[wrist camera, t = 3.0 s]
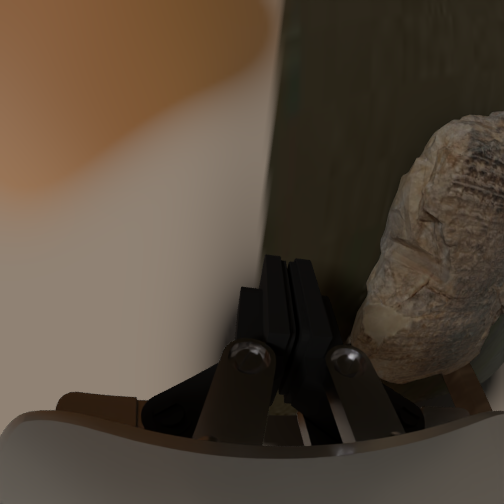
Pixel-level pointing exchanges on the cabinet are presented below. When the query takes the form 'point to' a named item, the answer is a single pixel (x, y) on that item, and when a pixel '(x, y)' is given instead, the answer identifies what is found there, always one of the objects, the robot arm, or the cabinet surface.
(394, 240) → the clay tablet
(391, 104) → the cabinet surface
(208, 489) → the robot arm
